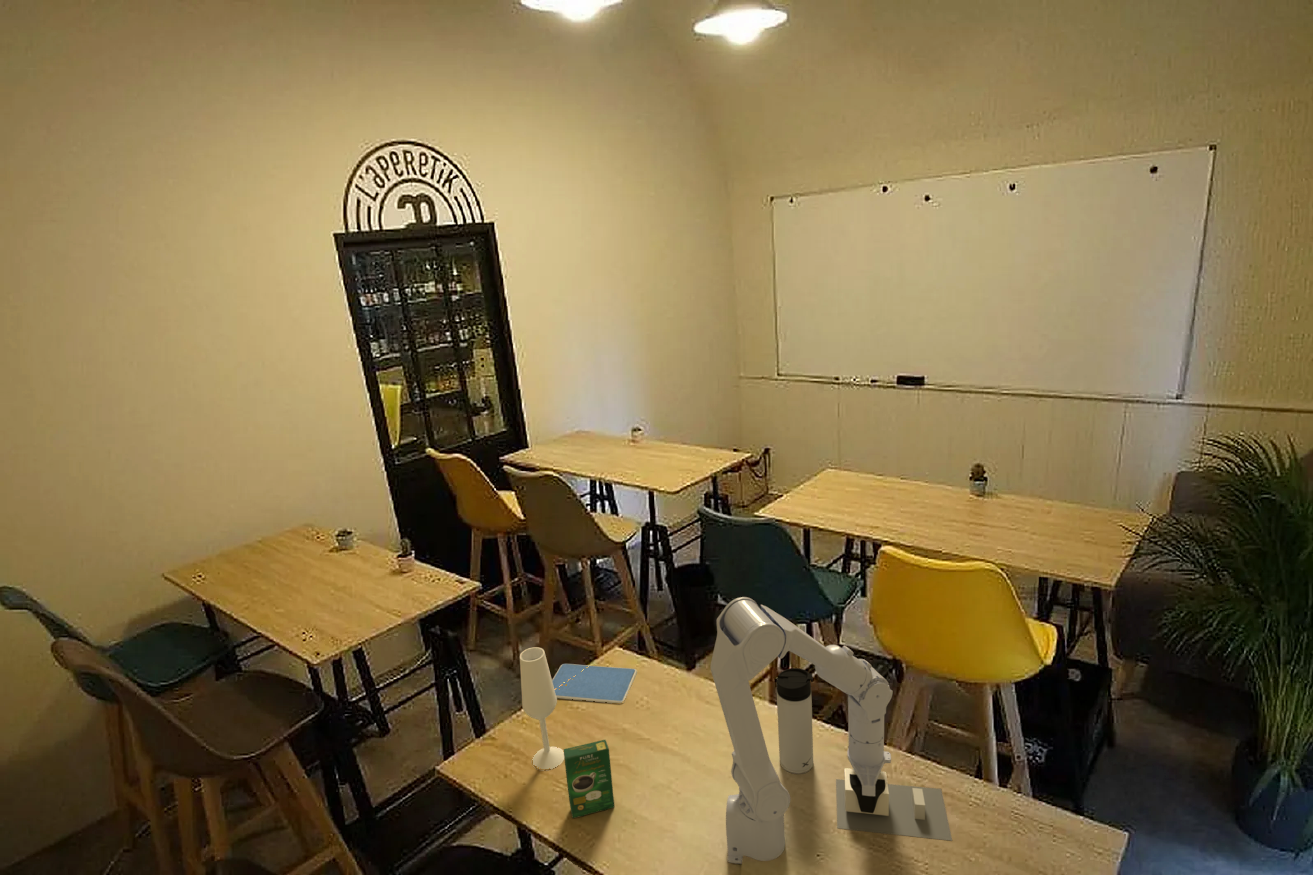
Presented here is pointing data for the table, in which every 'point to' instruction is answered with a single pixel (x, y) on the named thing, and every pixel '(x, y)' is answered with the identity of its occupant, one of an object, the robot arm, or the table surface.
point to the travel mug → (795, 720)
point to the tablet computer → (593, 683)
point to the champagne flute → (539, 702)
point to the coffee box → (589, 778)
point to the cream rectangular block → (852, 800)
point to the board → (900, 813)
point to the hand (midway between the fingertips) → (866, 798)
